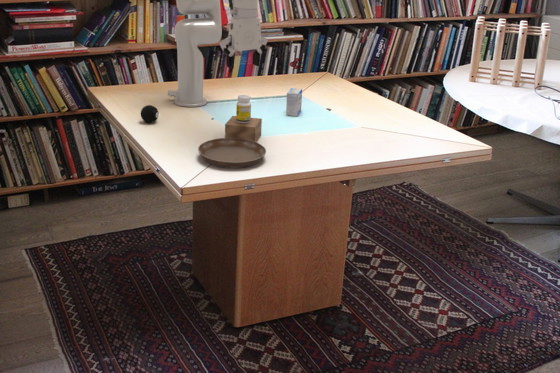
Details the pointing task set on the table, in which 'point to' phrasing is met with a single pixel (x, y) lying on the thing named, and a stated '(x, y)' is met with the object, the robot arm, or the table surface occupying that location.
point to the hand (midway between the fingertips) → (243, 66)
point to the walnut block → (243, 129)
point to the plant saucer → (232, 152)
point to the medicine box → (294, 102)
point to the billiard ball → (149, 113)
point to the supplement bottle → (243, 109)
